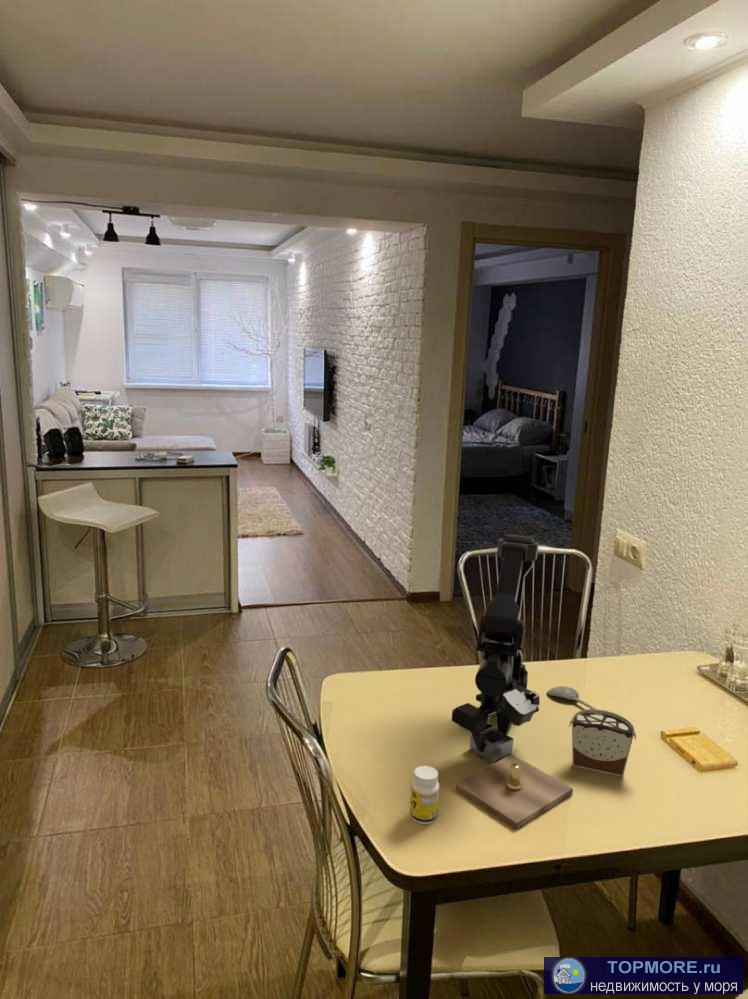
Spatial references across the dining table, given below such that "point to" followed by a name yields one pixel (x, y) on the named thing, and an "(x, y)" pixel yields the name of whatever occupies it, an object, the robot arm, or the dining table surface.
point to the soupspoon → (567, 694)
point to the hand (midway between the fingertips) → (491, 745)
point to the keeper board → (510, 804)
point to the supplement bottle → (424, 795)
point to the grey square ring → (494, 745)
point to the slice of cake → (601, 741)
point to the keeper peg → (515, 777)
